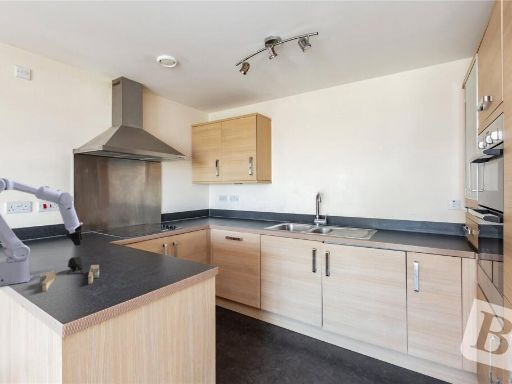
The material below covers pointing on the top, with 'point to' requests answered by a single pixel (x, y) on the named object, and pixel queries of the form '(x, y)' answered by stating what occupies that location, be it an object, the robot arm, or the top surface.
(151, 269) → the top surface
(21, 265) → the robot arm
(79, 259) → the power plug
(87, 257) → the top surface
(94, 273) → the guide channel
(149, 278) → the top surface
